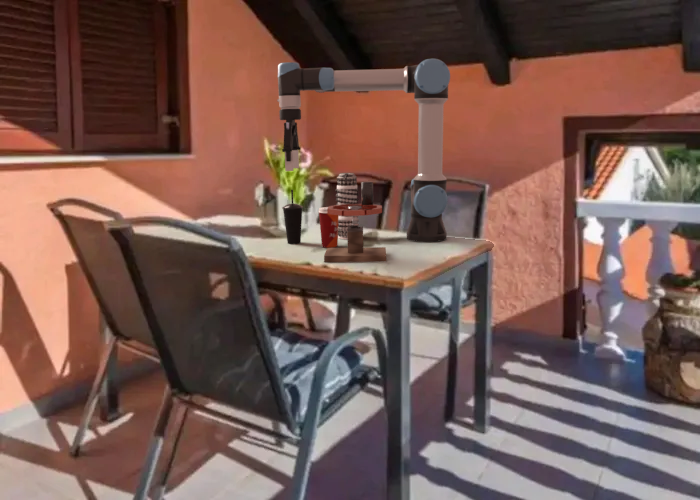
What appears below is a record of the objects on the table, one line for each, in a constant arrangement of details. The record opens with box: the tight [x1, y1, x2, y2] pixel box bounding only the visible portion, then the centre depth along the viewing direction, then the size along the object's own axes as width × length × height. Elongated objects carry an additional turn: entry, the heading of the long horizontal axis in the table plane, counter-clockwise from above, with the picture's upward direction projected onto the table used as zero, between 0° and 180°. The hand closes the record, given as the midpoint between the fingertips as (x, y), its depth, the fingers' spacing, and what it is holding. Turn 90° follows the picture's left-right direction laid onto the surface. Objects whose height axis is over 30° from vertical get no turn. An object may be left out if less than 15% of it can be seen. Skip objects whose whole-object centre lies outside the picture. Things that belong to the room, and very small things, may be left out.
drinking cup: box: [281, 189, 304, 245], centre depth 250 cm, size 8×8×20 cm
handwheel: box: [327, 181, 383, 228], centre depth 219 cm, size 18×18×15 cm
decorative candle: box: [334, 172, 360, 241], centre depth 259 cm, size 9×9×25 cm
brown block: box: [323, 225, 387, 263], centre depth 222 cm, size 20×14×10 cm
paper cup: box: [318, 206, 339, 249], centre depth 242 cm, size 8×8×14 cm
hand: (292, 169), depth 238 cm, fingers open, 13 cm apart
